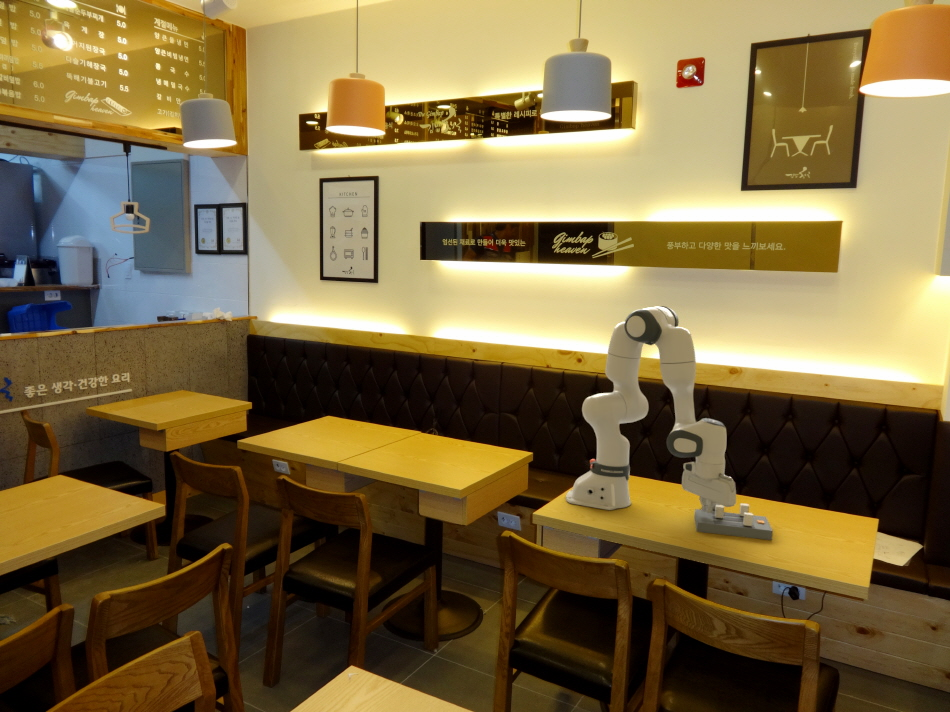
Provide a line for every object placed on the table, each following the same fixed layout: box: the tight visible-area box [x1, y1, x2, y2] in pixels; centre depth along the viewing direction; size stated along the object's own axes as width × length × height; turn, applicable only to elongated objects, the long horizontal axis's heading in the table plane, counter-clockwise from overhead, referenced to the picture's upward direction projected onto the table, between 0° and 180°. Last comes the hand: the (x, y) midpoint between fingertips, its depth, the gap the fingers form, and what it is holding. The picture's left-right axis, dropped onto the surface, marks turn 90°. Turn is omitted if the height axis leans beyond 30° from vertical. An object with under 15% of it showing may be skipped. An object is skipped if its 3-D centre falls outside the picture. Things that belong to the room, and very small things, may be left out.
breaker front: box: [743, 512, 754, 526], centre depth 217 cm, size 2×2×4 cm
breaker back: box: [739, 502, 750, 516], centre depth 226 cm, size 2×2×4 cm
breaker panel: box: [694, 508, 773, 541], centre depth 223 cm, size 22×13×3 cm, turn 76°
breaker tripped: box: [714, 505, 725, 518], centre depth 223 cm, size 2×2×4 cm
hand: (706, 511), depth 224 cm, fingers closed
